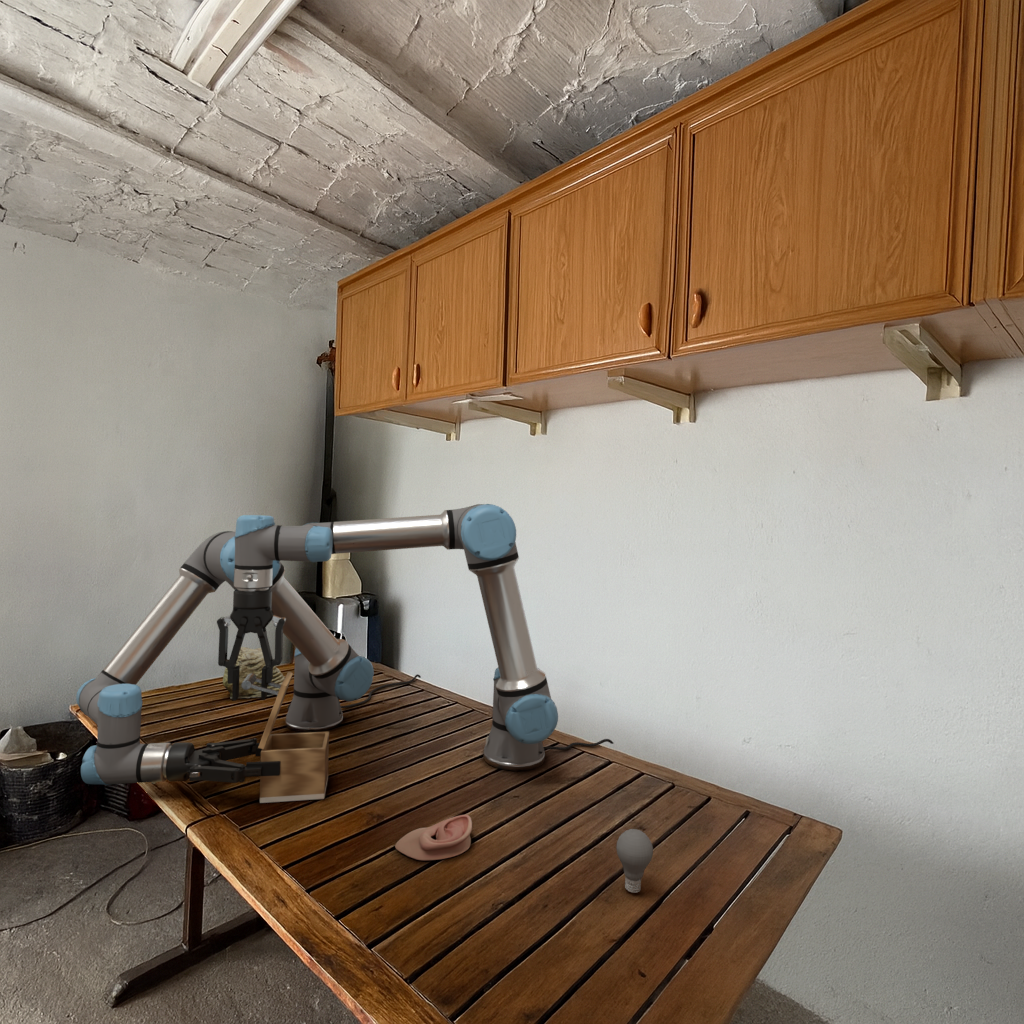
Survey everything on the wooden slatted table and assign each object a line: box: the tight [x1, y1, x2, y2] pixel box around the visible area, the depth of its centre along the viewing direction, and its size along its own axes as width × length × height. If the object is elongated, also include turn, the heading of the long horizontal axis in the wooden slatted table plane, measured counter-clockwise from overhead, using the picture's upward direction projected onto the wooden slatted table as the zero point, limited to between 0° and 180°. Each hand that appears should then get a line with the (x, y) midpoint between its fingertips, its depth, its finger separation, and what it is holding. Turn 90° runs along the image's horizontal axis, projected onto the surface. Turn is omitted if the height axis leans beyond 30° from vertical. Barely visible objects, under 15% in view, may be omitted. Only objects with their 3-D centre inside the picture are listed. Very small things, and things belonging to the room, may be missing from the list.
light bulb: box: [615, 828, 654, 894], centre depth 106 cm, size 6×6×10 cm
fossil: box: [222, 646, 286, 699], centre depth 198 cm, size 9×18×15 cm, turn 132°
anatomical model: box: [394, 814, 473, 861], centre depth 117 cm, size 13×4×12 cm
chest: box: [259, 731, 330, 804], centre depth 136 cm, size 13×10×11 cm
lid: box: [241, 671, 294, 749], centre depth 134 cm, size 14×10×9 cm
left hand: (283, 758), depth 135 cm, fingers closed on chest, 10 cm apart
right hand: (249, 698), depth 134 cm, fingers open, 5 cm apart
